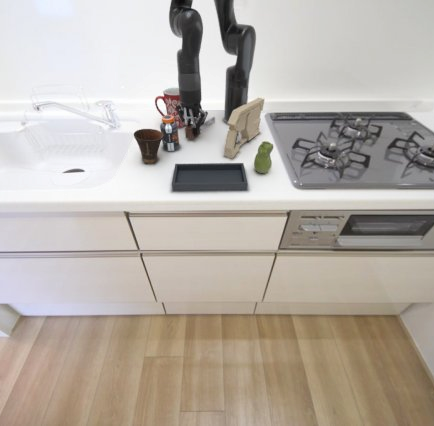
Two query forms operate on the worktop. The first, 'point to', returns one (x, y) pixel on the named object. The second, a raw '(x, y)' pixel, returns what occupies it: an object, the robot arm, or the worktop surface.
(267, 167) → the pear
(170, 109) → the mug
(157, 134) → the cup
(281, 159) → the worktop surface
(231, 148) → the gun
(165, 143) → the pill bottle
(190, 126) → the knife
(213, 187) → the dark grey tray
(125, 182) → the worktop surface
